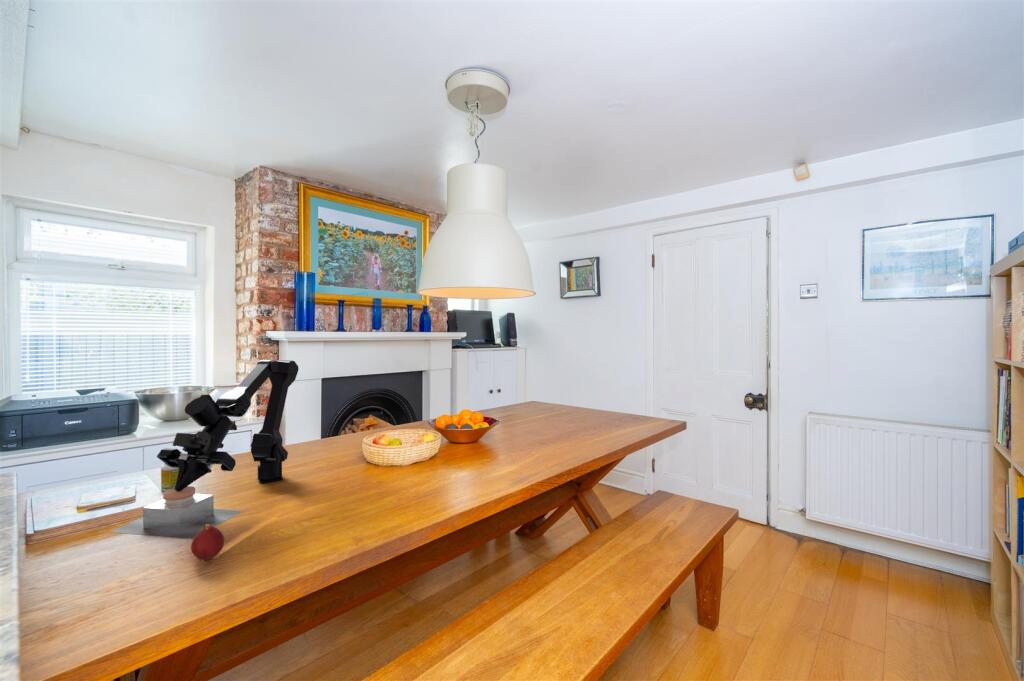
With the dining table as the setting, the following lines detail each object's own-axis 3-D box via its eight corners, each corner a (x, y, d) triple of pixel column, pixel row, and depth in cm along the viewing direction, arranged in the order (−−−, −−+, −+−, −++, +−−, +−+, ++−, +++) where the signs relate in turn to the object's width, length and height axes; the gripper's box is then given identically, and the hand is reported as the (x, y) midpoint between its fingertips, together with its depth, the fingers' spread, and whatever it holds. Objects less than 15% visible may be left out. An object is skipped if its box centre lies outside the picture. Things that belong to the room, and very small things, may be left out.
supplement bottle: (171, 492, 134) (171, 460, 133) (156, 490, 135) (156, 458, 134) (187, 486, 139) (187, 455, 138) (173, 484, 140) (173, 453, 140)
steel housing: (179, 511, 118) (179, 492, 118) (213, 513, 116) (213, 494, 116) (143, 528, 108) (142, 507, 108) (180, 531, 107) (179, 510, 106)
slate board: (169, 508, 122) (169, 505, 122) (243, 514, 119) (243, 510, 119) (108, 535, 106) (108, 531, 106) (192, 543, 103) (192, 539, 103)
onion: (202, 554, 98) (201, 518, 98) (229, 553, 98) (229, 517, 98) (185, 568, 92) (184, 530, 92) (214, 567, 93) (214, 529, 92)
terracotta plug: (179, 511, 116) (179, 485, 116) (201, 513, 115) (201, 487, 115) (156, 521, 109) (156, 494, 109) (180, 523, 109) (179, 496, 108)
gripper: (162, 417, 117) (121, 473, 107) (227, 420, 115) (191, 477, 104) (188, 440, 125) (152, 493, 115) (249, 443, 123) (217, 498, 112)
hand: (177, 490), depth 111 cm, fingers closed, pressing on terracotta plug
